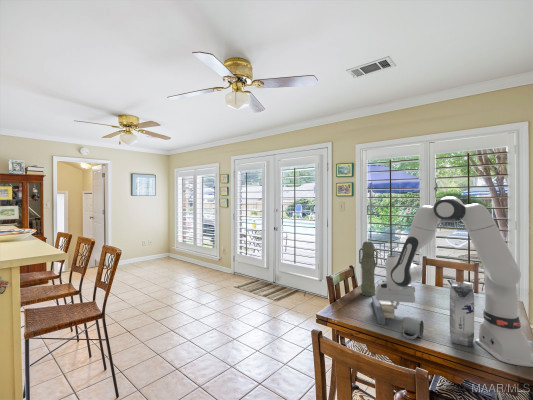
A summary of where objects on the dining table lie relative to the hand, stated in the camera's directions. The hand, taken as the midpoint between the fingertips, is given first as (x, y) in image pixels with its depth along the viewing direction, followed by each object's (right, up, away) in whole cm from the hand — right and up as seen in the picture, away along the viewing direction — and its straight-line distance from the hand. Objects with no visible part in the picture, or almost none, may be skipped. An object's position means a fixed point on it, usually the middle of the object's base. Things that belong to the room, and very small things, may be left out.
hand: (394, 308), depth 153 cm
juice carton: (+17, -4, -28) cm, 33 cm away
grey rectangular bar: (-8, -3, +2) cm, 9 cm away
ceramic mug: (-2, -4, -23) cm, 23 cm away
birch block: (-4, -3, 0) cm, 5 cm away
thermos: (-3, -3, +31) cm, 31 cm away
